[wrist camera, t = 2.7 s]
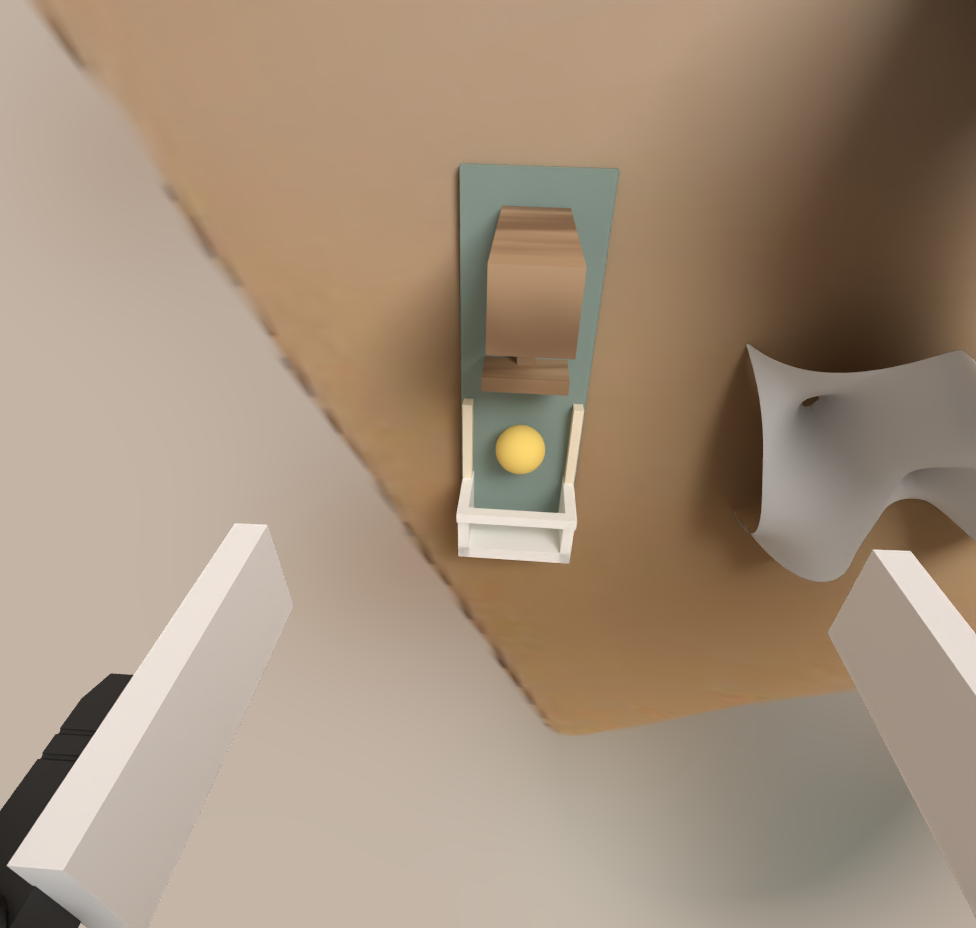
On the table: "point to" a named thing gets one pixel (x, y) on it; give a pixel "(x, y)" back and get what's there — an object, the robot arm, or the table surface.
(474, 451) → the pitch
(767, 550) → the sculpture
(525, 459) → the ball
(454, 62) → the table surface
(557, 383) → the tan l-shaped block
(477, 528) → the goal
